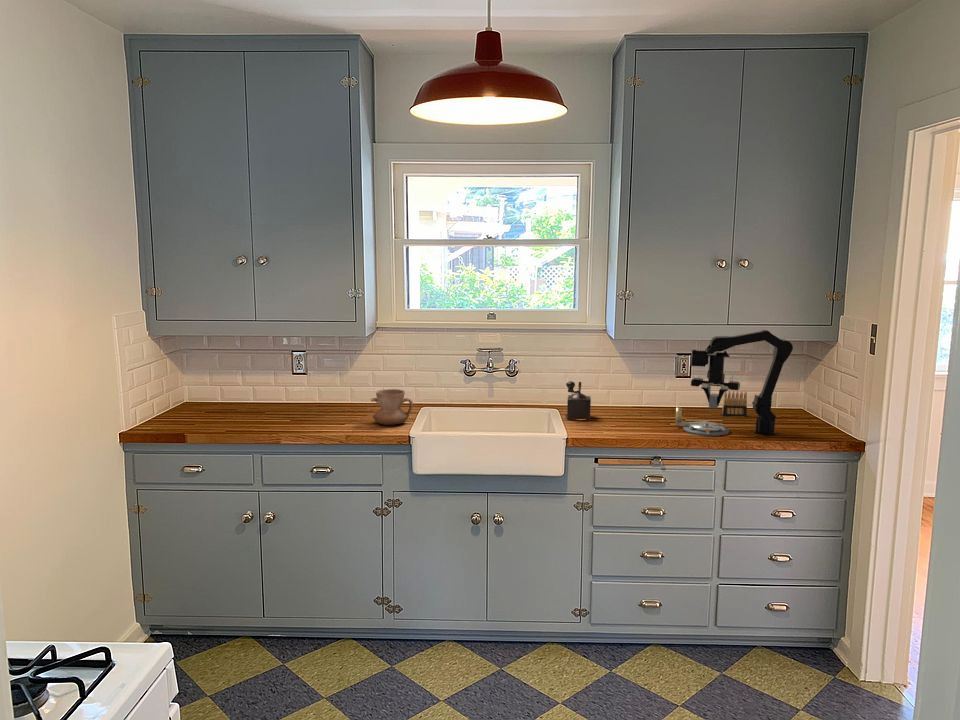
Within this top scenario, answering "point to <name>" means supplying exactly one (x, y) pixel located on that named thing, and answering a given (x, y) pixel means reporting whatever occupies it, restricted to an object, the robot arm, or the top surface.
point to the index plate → (703, 433)
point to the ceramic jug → (391, 407)
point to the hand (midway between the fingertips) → (714, 404)
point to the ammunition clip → (734, 404)
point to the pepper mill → (577, 403)
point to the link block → (713, 401)
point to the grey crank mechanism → (698, 423)
